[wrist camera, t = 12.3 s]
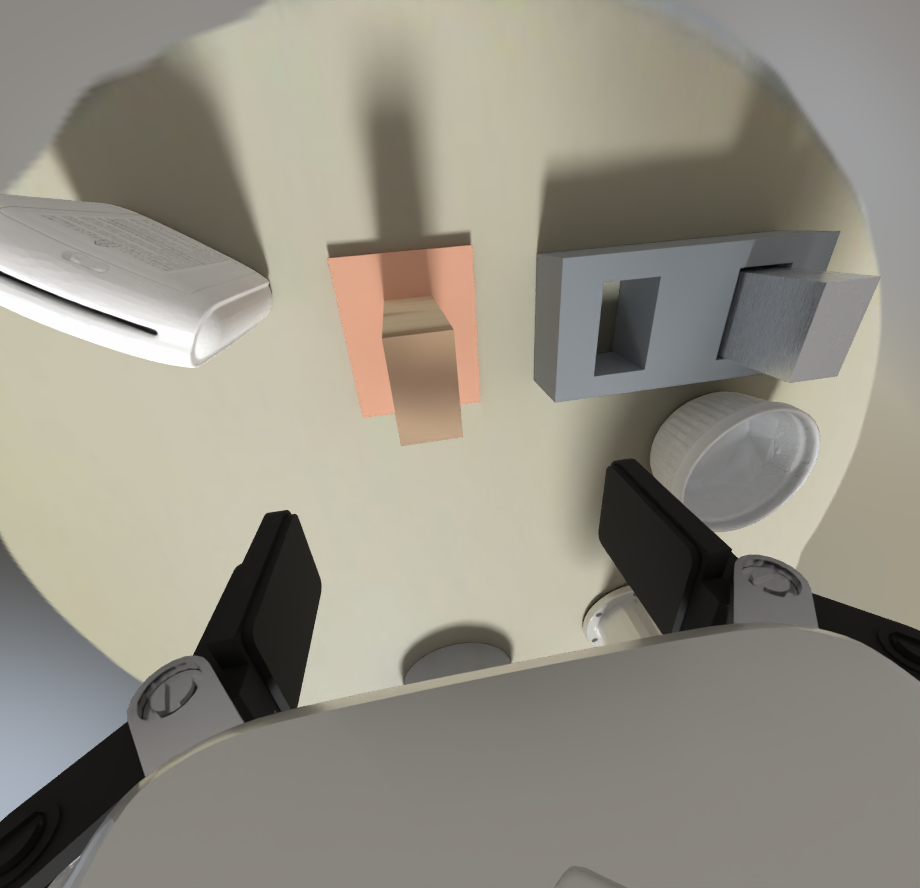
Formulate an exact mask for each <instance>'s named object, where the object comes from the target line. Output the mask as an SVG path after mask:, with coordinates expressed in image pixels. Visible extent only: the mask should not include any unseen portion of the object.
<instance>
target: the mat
mask: <svg viewBox="0 0 920 888" xmlns="http://www.w3.org/2000/svg"><path fill="white" fill-rule="evenodd" d="M328 263H329V267H330V272H331V276H332V281H333V285H334V290H335V294H336V299H337V303H338V308H339V312H340V317H341V321H342V326H343V330H344V335H345V339H346V344H347V348H348V353H349V357H350V362H351V366H352V371H353V375H354V380H355V384H356V389H357V393H358V398H359V402H360V407H361V411H362V416H363V418H364V417H372V416H379V415H386V414H394V413H395V409H394V404H393V398H392V392H391V387H390V381H389V376H388V370H387V365H386V359H385V353H384V348H383V342H382V326H383V309H384V301H387V300H396V299H405V298H414V297H424V296H432V297H433V298H434V300H435V301H436V303H437V304H438V306H439V307H440V309H441V311H442V312H443V314H444V315H445V317H446V318H447V320H448V321H449V323H450V325H451V326H452V328H453V329H454V337H455V349H456V361H457V373H458V385H459V396H460V404H468V403H475V402H480V383H479V363H478V344H477V324H476V305H475V285H474V265H473V246H472V245H463V246H452V247H441V248H430V249H419V250H408V251H397V252H386V253H375V254H364V255H354V256H343V257H332V258H328Z"/></svg>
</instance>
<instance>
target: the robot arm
mask: <svg viewBox="0 0 920 888" xmlns="http://www.w3.org/2000/svg"><path fill="white" fill-rule="evenodd" d="M598 534H599V539H600V542H601V544H602V546H603V547H604V549H605V550H606V552H607V553H608V555H609V556H610V558H611V559H612V560H613V562H614V563H615V565H616V566H617V568H618V569H619V571H620V572H621V574H622V575H623V577H624V578H625V580H626V581H627V583H628V584H629V585H628V586H624V587H621V588H619V589H616V590H614V591H612V592H610V593H609V594H607V595H605V596H604V597H603V598H601V599H600V600H598V601H597V602H596V603H595V604H594V605H593V606H592V608H591V609H590V610H589V611H588V613H587V615H586V617H585V619H584V623H583V631H584V633H585V636H586V637H587V639H588V641H589V642H590V643H591V644H592V645H594V646H596V647H594V648H589V649H584V650H579V651H573V652H568V653H563V654H558V655H553V656H548V657H543V658H538V659H532V660H527V661H522V662H517V663H512V664H507V665H502V666H497V667H492V668H487V669H482V670H477V671H472V672H467V673H462V674H456V675H452V676H447V677H442V678H437V679H432V680H427V681H422V682H417V683H412V684H407V685H402V686H397V687H392V688H387V689H383V690H378V691H373V692H368V693H363V694H358V695H353V696H349V697H344V698H340V699H335V700H331V701H326V702H322V703H317V704H313V705H308V706H303V707H299V708H297V706H298V702H299V697H300V692H301V687H302V682H303V678H304V673H305V668H306V663H307V658H308V653H309V649H310V644H311V639H312V634H313V629H314V624H315V620H316V615H317V610H318V605H319V600H320V595H321V579H320V576H319V574H318V571H317V568H316V565H315V562H314V560H313V557H312V554H311V551H310V549H309V546H308V543H307V540H306V537H305V535H304V532H303V529H302V526H301V523H300V521H299V518H298V516H297V515H296V514H291V513H290V511H288V510H284V511H277V512H271V513H267V514H265V516H264V518H263V520H262V522H261V524H260V526H259V528H258V531H257V533H256V535H255V537H254V539H253V541H252V543H251V546H250V548H249V550H248V552H247V554H246V556H245V558H244V561H243V563H242V564H240V565H238V566H237V567H236V568H235V570H234V571H233V574H232V576H231V578H230V580H229V582H228V584H227V586H226V588H225V590H224V592H223V594H222V596H221V598H220V600H219V603H218V605H217V607H216V609H215V611H214V613H213V615H212V617H211V619H210V621H209V623H208V625H207V627H206V630H205V632H204V634H203V636H202V638H201V640H200V642H199V644H198V646H197V648H196V650H195V652H194V654H193V656H185V657H182V658H179V659H176V660H173V661H171V662H170V663H168V664H166V665H164V666H163V667H161V668H160V669H158V670H157V671H156V672H154V673H153V674H152V675H151V676H149V677H148V678H147V679H146V681H145V682H144V683H143V684H142V685H141V686H140V687H139V688H138V690H137V691H136V693H135V694H134V696H133V697H132V699H131V702H130V704H129V707H128V710H127V720H128V722H126V723H125V724H124V725H123V726H121V727H120V728H119V729H117V730H116V731H115V732H113V733H112V734H111V735H110V736H108V737H107V738H106V739H105V740H103V741H102V742H101V743H99V744H98V745H97V746H96V747H94V748H93V749H92V750H90V751H89V752H88V753H87V754H85V755H84V756H83V757H81V758H80V759H79V760H78V761H76V762H75V763H74V764H73V765H71V766H70V767H69V768H67V769H66V770H65V771H63V772H62V773H61V774H60V775H58V776H57V777H56V778H55V779H53V780H52V781H51V782H50V783H48V784H47V785H46V786H44V787H43V788H42V789H40V790H39V791H38V792H37V793H35V794H34V795H33V796H32V797H30V798H29V799H28V800H26V801H25V802H24V803H22V804H21V805H20V806H19V807H17V808H16V809H15V810H14V811H12V812H11V813H10V814H9V815H8V816H7V817H5V818H4V819H3V820H2V821H1V822H0V888H920V631H919V630H917V629H914V628H912V627H909V626H906V625H904V624H901V623H898V622H895V621H892V620H889V619H886V618H883V617H881V616H878V615H875V614H872V613H868V612H866V611H863V610H860V609H857V608H854V607H851V606H848V605H845V604H843V603H840V602H837V601H834V600H831V599H828V598H825V597H822V596H819V595H816V594H813V593H812V592H811V588H810V586H809V583H808V581H807V580H806V579H805V578H804V577H803V576H802V575H801V574H800V573H799V572H798V571H797V570H795V569H794V568H793V567H791V566H789V565H787V564H785V563H784V562H782V561H779V560H777V559H774V558H771V557H767V556H762V555H746V556H742V557H740V558H739V559H738V558H737V557H736V556H735V555H734V554H733V553H732V552H731V551H732V549H731V548H730V547H729V546H728V545H727V544H726V543H725V542H724V541H723V540H722V539H720V538H719V537H718V536H717V535H716V534H715V533H714V532H713V531H712V530H711V529H710V528H709V527H707V526H706V525H705V524H704V523H703V522H702V521H701V520H700V519H699V518H698V517H697V516H696V515H694V514H693V513H692V512H691V511H690V510H689V509H688V508H687V507H686V506H685V505H684V504H683V503H682V502H680V501H679V500H678V499H677V498H676V497H675V496H674V495H673V494H672V493H671V492H670V491H669V490H667V489H666V488H665V487H664V486H663V485H662V484H661V483H660V482H659V481H658V480H657V479H656V478H654V477H653V476H652V475H651V474H650V473H649V472H648V471H647V470H646V469H645V468H644V467H643V466H642V465H640V464H639V463H638V462H637V461H636V460H635V459H632V458H630V459H623V460H617V461H614V462H613V463H612V464H611V466H609V467H608V468H607V470H606V478H605V485H604V493H603V501H602V509H601V516H600V524H599V533H598Z"/></svg>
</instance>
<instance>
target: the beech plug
mask: <svg viewBox="0 0 920 888" xmlns="http://www.w3.org/2000/svg"><path fill="white" fill-rule="evenodd" d="M382 342H383V348H384V353H385V359H386V365H387V370H388V376H389V381H390V387H391V392H392V398H393V404H394V409H395V415H396V420H397V426H398V431H399V437H400V443H401V446H405V445H412V444H419V443H425V442H432V441H439V440H446V439H453V438H459V437H463V432H462V420H461V408H460V396H459V385H458V373H457V361H456V349H455V337H454V329H453V328H452V326H451V325H450V323H449V321H448V320H447V318H446V317H445V315H444V314H443V312H442V311H441V309H440V307H439V306H438V304H437V303H436V301H435V300H434V298H433V297H432V296H424V297H414V298H405V299H396V300H387V301H384V309H383V326H382Z"/></svg>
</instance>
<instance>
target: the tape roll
mask: <svg viewBox="0 0 920 888" xmlns="http://www.w3.org/2000/svg"><path fill="white" fill-rule="evenodd" d="M507 664H511V662H510V659H509V657H508V656H507V654H506V653H505V652H503V651H502V650H501V649H499V648H497V647H495V646H492V645H488V644H483V643H461V644H454V645H450V646H446V647H443V648H440V649H438V650H435V651H433V652H431V653H429V654H427V655H426V656H424V657H422V658H421V659H419V660H418V661H417V662H416V663H415V664H414V665H413V666H412V667H411V668H410V669H409V671H408V672H407V674H406V676H405V679H404V685H407V684H412V683H417V682H422V681H427V680H432V679H437V678H442V677H447V676H452V675H456V674H462V673H467V672H472V671H477V670H482V669H487V668H492V667H497V666H502V665H507Z"/></svg>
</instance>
